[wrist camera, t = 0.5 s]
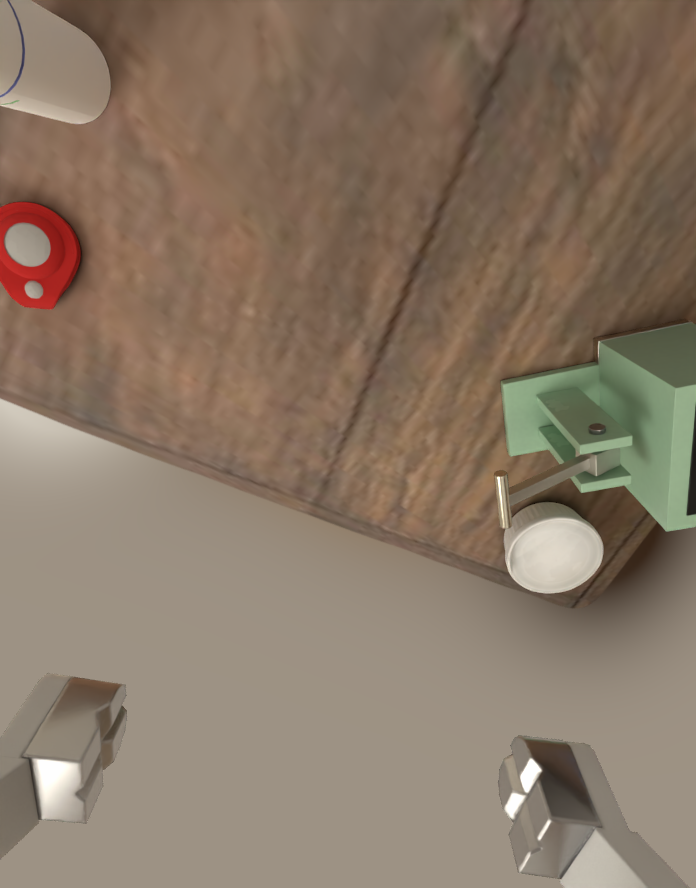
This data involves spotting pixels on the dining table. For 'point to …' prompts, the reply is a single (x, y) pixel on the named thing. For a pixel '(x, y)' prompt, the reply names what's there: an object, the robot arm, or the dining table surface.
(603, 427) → the switch bracket
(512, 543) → the ramekin
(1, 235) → the tracker holder
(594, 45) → the dining table surface
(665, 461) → the toaster
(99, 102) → the cylindrical container
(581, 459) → the lever
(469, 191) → the dining table surface
